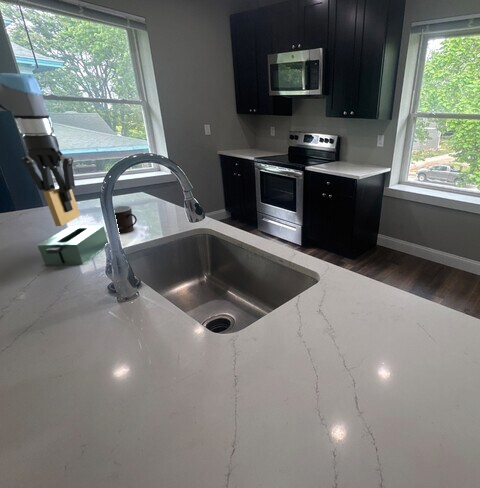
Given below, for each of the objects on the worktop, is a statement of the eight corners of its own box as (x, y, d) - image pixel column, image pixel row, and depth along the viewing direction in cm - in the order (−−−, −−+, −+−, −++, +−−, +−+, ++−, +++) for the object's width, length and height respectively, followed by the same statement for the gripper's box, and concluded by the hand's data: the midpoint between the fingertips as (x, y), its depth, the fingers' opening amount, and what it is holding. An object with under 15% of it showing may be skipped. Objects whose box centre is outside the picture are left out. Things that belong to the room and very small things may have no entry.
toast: (55, 226, 94) (43, 192, 89) (75, 215, 103) (64, 184, 98) (61, 226, 94) (49, 192, 89) (80, 215, 103) (70, 184, 98)
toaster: (46, 267, 95) (37, 245, 92) (77, 246, 110) (70, 226, 106) (83, 266, 97) (76, 244, 93) (109, 245, 111) (103, 225, 108)
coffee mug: (109, 231, 123) (102, 208, 118) (132, 226, 128) (127, 204, 124) (118, 240, 116) (111, 216, 111) (142, 234, 121) (136, 211, 117)
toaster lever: (47, 253, 91) (45, 250, 90) (52, 250, 93) (51, 246, 92) (57, 253, 91) (56, 249, 91) (63, 249, 93) (61, 246, 93)
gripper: (73, 133, 91) (96, 207, 101) (20, 132, 89) (48, 207, 99) (57, 136, 85) (83, 214, 94) (-2, 134, 83) (31, 214, 92)
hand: (65, 210), depth 97 cm, fingers closed on toast, 2 cm apart
